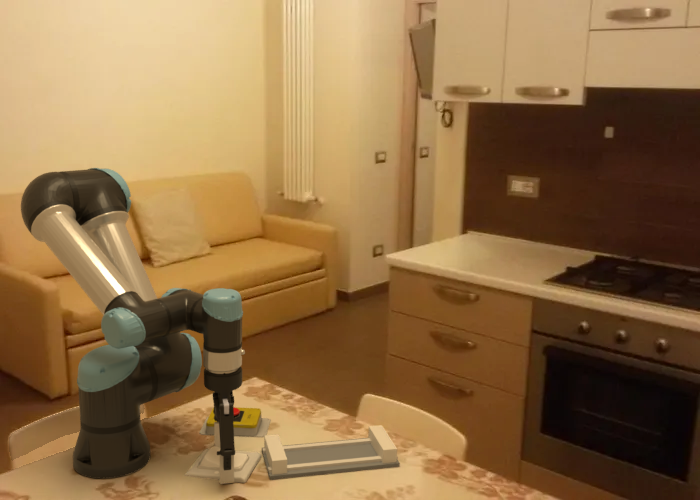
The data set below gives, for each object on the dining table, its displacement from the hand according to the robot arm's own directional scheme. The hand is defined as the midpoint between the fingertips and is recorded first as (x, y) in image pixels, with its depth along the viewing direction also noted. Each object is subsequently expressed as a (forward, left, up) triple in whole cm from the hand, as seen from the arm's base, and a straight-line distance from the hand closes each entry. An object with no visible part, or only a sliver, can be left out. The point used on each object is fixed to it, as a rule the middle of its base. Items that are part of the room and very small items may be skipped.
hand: (223, 466), depth 152 cm
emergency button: (+4, +18, -1) cm, 18 cm away
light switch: (0, 0, -1) cm, 1 cm away
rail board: (+22, -1, 0) cm, 22 cm away
